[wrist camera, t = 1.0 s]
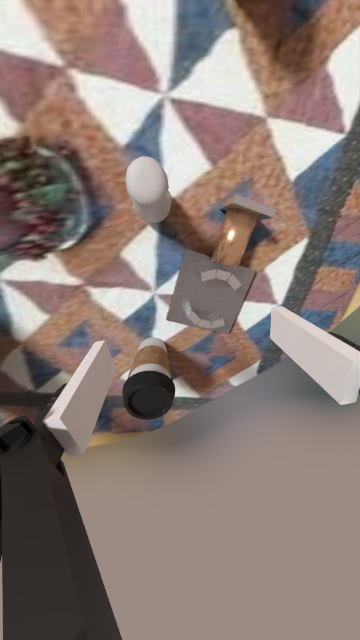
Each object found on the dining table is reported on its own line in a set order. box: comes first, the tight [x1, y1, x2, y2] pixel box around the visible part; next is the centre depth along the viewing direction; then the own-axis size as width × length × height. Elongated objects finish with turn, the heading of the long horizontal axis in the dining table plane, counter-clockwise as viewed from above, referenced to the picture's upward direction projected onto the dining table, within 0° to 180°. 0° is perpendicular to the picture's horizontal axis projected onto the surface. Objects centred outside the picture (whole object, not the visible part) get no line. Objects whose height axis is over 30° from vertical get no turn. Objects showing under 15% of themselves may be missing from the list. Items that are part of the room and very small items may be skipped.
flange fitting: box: [166, 194, 276, 334], centre depth 32 cm, size 14×22×6 cm, turn 164°
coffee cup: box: [123, 338, 175, 420], centre depth 34 cm, size 8×8×15 cm
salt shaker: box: [126, 156, 171, 223], centre depth 23 cm, size 6×6×13 cm
